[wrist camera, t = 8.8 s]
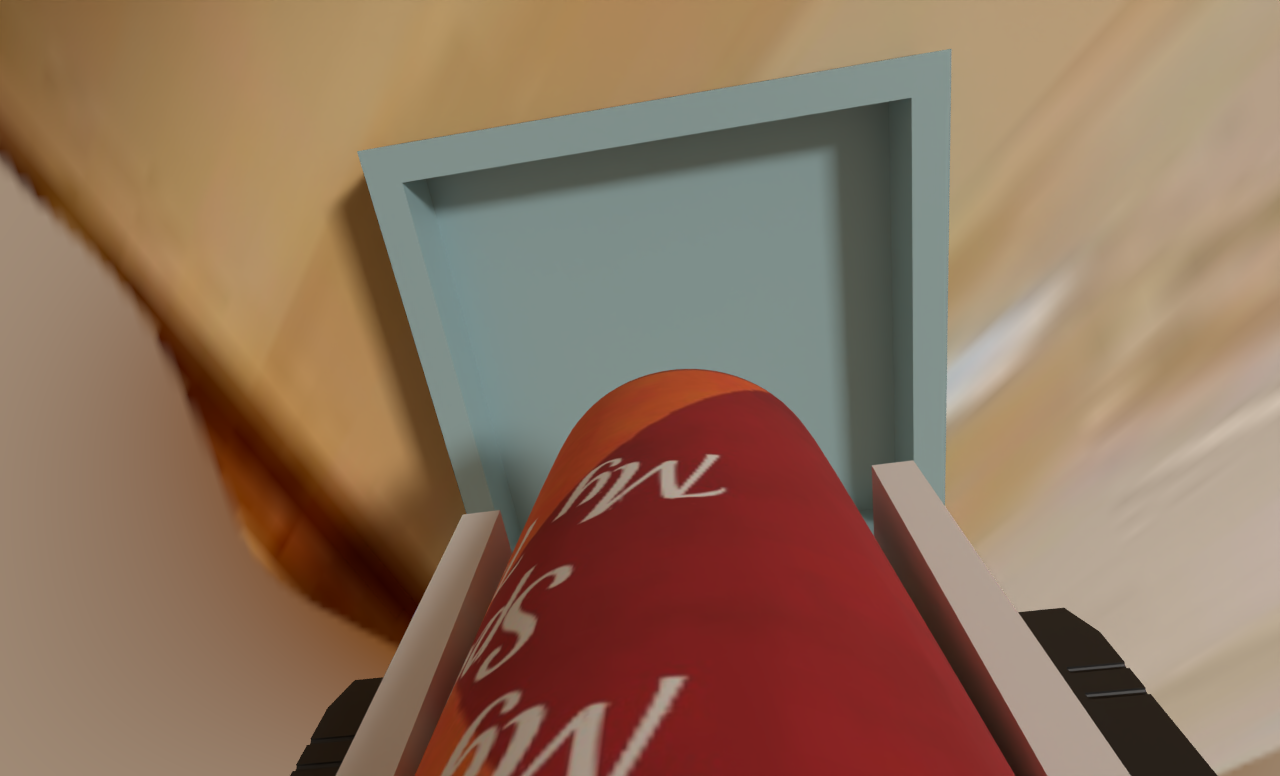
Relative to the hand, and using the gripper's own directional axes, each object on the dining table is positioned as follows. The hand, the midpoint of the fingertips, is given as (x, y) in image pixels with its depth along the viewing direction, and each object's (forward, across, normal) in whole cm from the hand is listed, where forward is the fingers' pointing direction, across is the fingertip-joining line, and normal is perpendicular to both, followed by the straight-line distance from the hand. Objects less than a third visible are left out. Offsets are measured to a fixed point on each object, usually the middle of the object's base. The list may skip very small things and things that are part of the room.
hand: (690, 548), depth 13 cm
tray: (+11, 0, 0) cm, 11 cm away
